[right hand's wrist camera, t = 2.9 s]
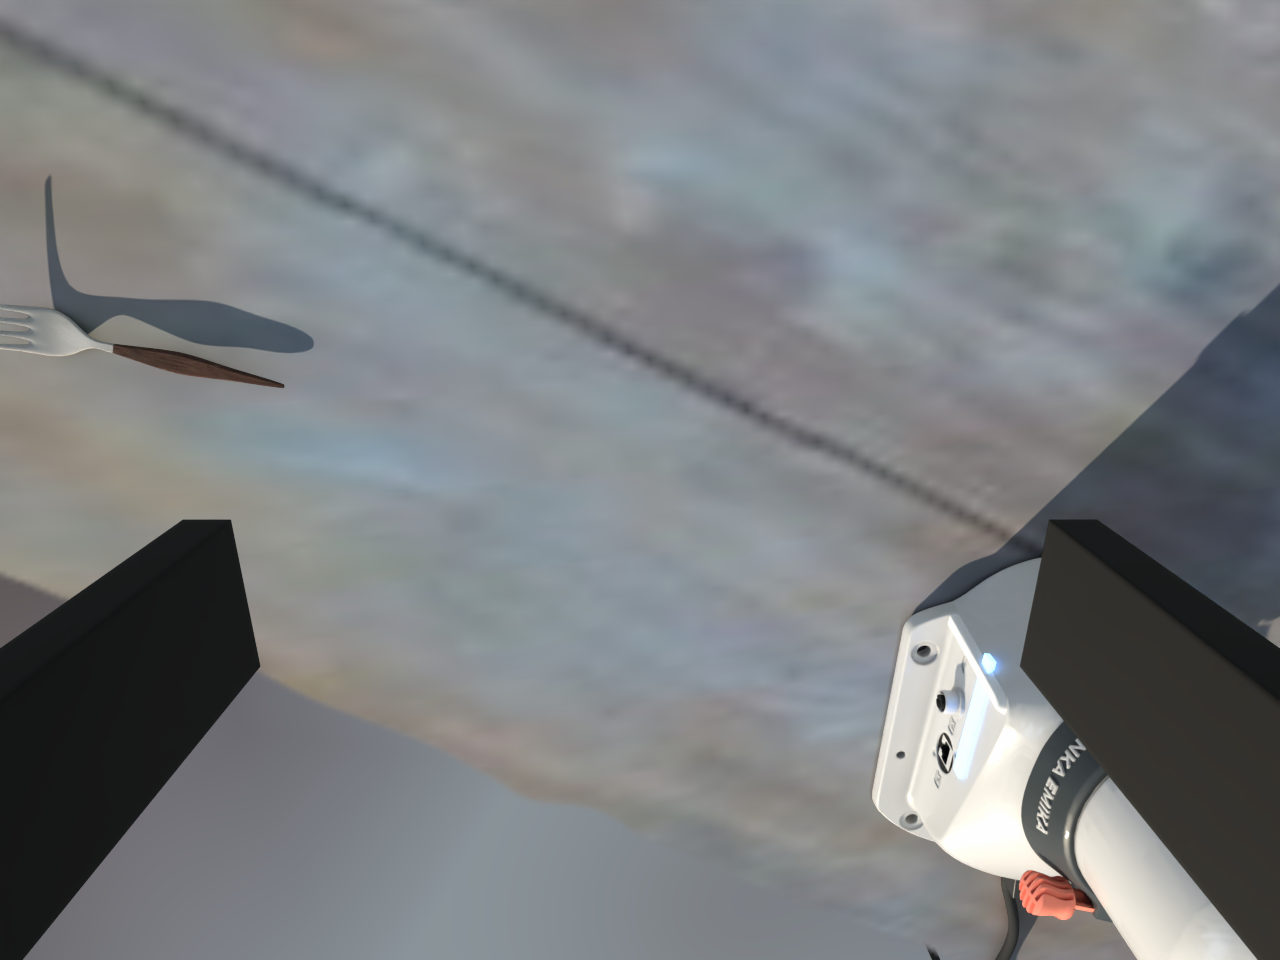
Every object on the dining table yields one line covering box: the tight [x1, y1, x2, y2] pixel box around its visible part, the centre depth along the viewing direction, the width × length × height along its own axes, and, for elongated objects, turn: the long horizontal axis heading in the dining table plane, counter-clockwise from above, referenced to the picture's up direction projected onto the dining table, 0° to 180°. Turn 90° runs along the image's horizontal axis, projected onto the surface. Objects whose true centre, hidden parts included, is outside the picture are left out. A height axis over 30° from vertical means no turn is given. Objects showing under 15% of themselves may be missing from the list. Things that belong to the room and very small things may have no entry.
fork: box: [0, 304, 284, 388], centre depth 41 cm, size 3×16×2 cm, turn 77°
